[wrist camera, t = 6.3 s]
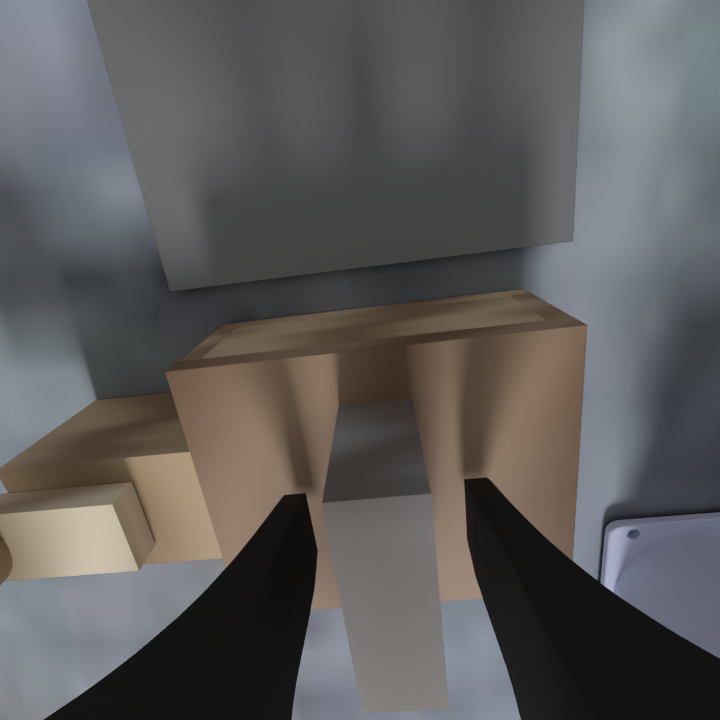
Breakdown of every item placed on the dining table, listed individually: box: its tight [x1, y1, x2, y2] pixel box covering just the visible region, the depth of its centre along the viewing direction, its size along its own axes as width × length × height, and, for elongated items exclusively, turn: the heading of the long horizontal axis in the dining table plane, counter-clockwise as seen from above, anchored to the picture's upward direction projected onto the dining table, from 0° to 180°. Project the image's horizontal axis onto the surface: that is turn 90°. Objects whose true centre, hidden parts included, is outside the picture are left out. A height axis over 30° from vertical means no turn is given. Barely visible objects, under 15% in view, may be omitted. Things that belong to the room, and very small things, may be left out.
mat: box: [87, 0, 584, 292], centre depth 13 cm, size 14×12×1 cm
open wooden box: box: [0, 289, 572, 564], centre depth 15 cm, size 17×9×5 cm, turn 97°
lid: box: [165, 317, 587, 713], centre depth 11 cm, size 11×9×6 cm
